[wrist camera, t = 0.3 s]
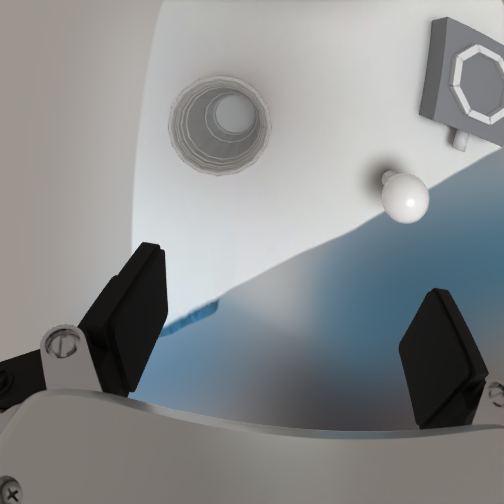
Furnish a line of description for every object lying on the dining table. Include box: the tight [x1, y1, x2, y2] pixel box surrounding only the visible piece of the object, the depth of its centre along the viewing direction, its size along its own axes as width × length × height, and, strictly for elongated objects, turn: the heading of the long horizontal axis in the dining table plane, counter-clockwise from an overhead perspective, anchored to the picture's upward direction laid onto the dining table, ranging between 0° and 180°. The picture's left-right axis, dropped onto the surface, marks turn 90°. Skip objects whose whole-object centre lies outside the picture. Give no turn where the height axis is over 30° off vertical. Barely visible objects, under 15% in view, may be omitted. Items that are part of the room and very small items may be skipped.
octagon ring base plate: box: [419, 17, 504, 152], centre depth 30 cm, size 18×13×6 cm
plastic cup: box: [168, 76, 271, 176], centre depth 35 cm, size 11×11×12 cm
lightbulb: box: [381, 171, 429, 224], centre depth 38 cm, size 6×6×11 cm
